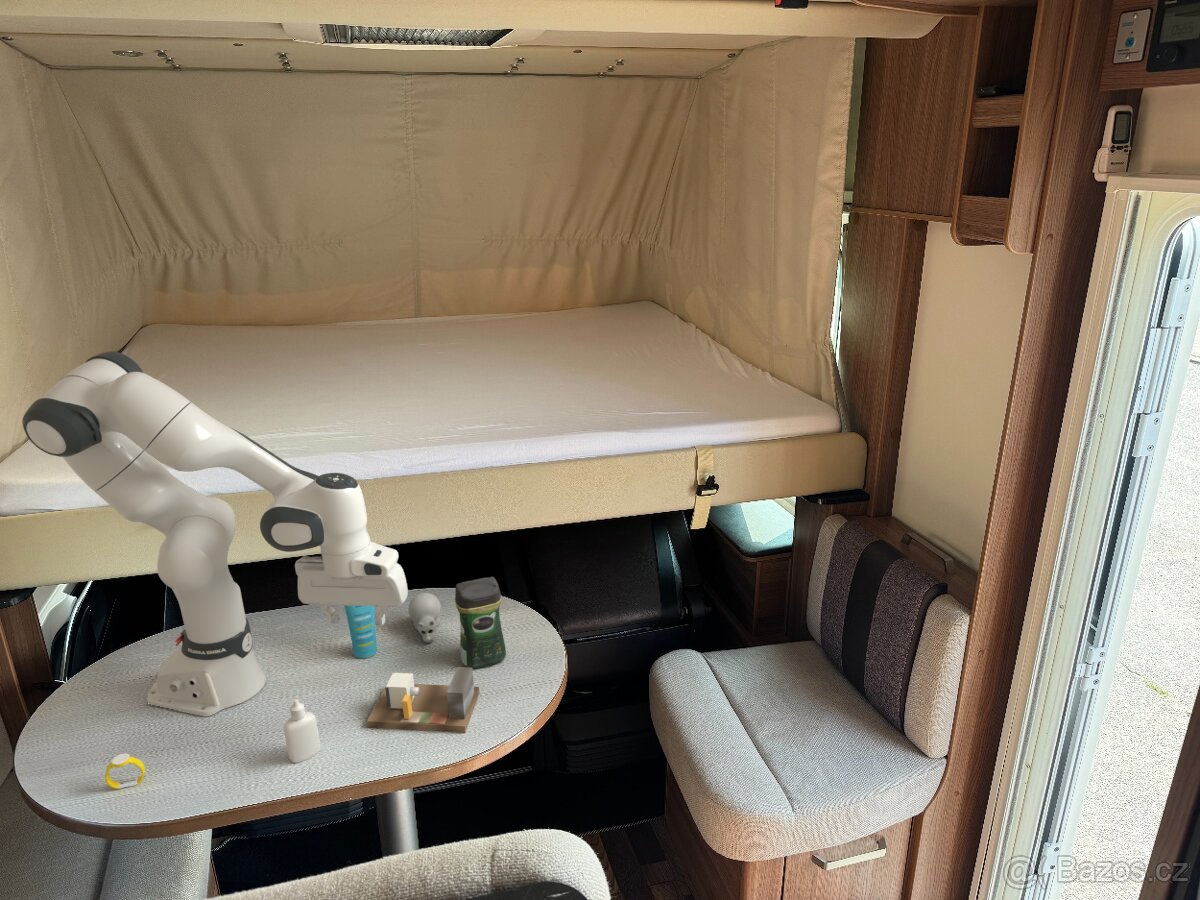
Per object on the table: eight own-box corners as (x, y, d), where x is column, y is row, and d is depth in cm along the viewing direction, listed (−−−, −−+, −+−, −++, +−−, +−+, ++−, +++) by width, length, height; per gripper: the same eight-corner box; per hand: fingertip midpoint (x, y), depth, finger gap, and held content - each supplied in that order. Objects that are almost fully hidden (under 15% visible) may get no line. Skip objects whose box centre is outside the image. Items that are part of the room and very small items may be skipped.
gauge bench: (367, 727, 164) (363, 695, 161) (388, 688, 175) (384, 657, 172) (465, 732, 162) (462, 700, 159) (479, 693, 173) (477, 661, 170)
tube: (352, 663, 183) (341, 585, 176) (345, 652, 187) (334, 575, 180) (386, 651, 187) (376, 574, 180) (378, 641, 191) (368, 565, 184)
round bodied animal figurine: (412, 654, 190) (408, 632, 184) (409, 611, 199) (406, 588, 193) (445, 649, 192) (442, 627, 186) (441, 606, 200) (438, 584, 194)
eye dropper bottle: (290, 749, 158) (280, 695, 154) (321, 743, 160) (313, 690, 155) (288, 765, 154) (277, 710, 150) (320, 759, 156) (311, 705, 151)
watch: (109, 796, 148) (98, 769, 146) (112, 785, 151) (101, 758, 149) (147, 785, 150) (137, 759, 148) (149, 774, 152) (139, 748, 150)
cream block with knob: (382, 719, 163) (379, 697, 161) (395, 693, 170) (392, 672, 168) (410, 720, 162) (408, 699, 161) (422, 694, 170) (420, 673, 168)
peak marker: (404, 718, 163) (402, 701, 161) (407, 711, 165) (405, 694, 163) (409, 718, 163) (407, 701, 161) (412, 712, 165) (410, 694, 163)
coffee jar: (500, 643, 189) (495, 569, 182) (509, 663, 182) (504, 587, 176) (457, 652, 186) (450, 577, 179) (464, 673, 179) (457, 596, 172)
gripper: (286, 564, 155) (297, 629, 160) (395, 567, 153) (403, 633, 158) (300, 548, 161) (311, 611, 166) (406, 551, 159) (414, 615, 164)
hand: (357, 622), depth 162 cm, fingers open, 8 cm apart
